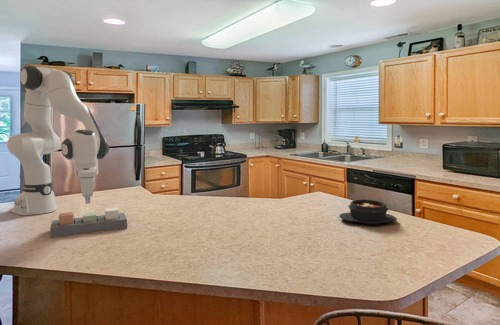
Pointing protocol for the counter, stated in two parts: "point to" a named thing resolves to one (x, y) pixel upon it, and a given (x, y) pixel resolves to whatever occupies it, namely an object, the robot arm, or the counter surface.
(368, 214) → the casserole
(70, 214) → the terracotta block
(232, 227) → the counter surface
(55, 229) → the console
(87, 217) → the sage green block
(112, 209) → the cream block
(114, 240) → the counter surface
